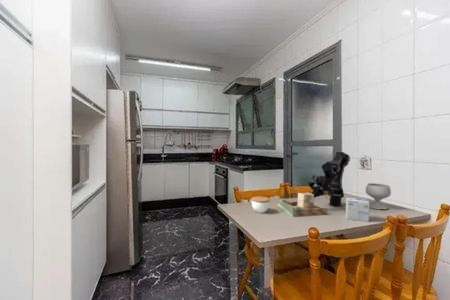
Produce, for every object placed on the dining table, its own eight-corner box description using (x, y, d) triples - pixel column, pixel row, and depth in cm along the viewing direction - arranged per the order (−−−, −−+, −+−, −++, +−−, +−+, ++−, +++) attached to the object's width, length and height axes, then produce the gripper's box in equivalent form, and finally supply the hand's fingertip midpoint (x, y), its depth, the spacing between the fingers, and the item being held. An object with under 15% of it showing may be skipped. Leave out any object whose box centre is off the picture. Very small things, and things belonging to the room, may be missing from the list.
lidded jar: (273, 211, 140) (273, 195, 140) (262, 215, 132) (263, 198, 132) (258, 208, 148) (258, 193, 147) (247, 211, 140) (247, 195, 139)
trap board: (308, 206, 154) (309, 198, 154) (326, 214, 137) (327, 205, 137) (277, 208, 148) (277, 200, 148) (292, 216, 131) (292, 207, 131)
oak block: (307, 205, 147) (307, 192, 147) (313, 208, 141) (314, 194, 141) (297, 206, 145) (297, 193, 145) (303, 208, 139) (303, 195, 139)
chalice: (375, 204, 164) (376, 182, 163) (395, 209, 151) (396, 186, 150) (359, 205, 159) (360, 183, 159) (379, 211, 146) (380, 187, 146)
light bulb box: (366, 218, 131) (367, 199, 131) (369, 222, 125) (370, 201, 125) (344, 216, 135) (345, 197, 135) (346, 219, 129) (347, 199, 128)
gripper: (310, 168, 154) (294, 186, 151) (330, 172, 136) (313, 192, 133) (320, 180, 156) (305, 198, 153) (341, 185, 138) (324, 205, 136)
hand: (311, 198), depth 144 cm, fingers closed, pressing on oak block
